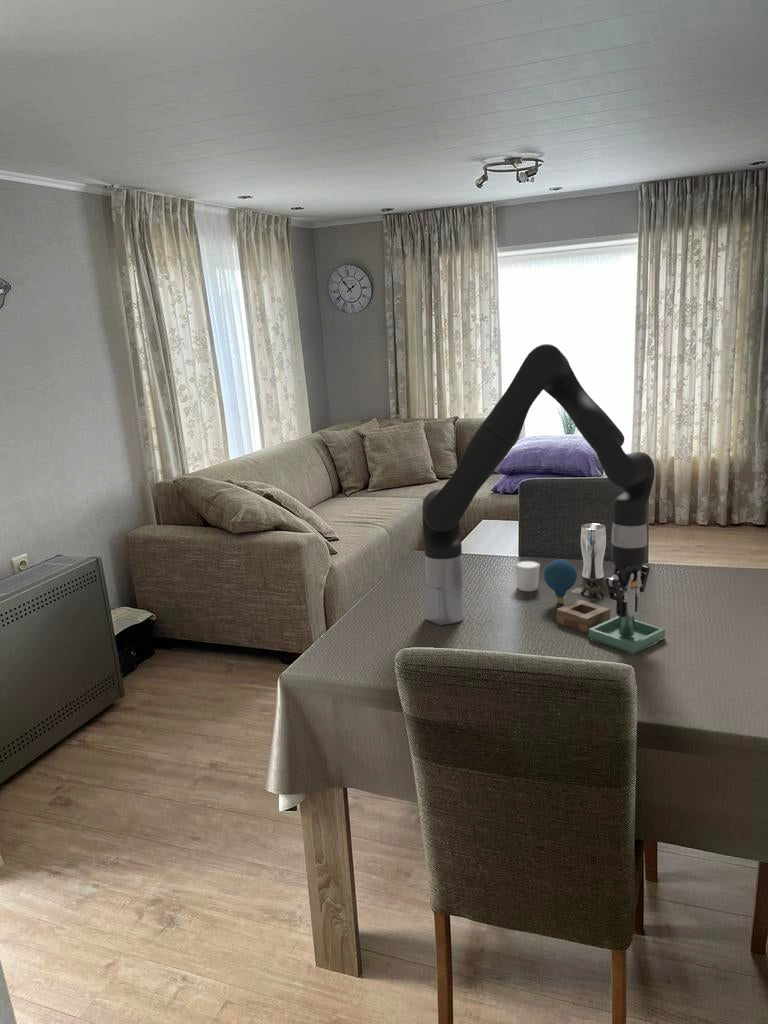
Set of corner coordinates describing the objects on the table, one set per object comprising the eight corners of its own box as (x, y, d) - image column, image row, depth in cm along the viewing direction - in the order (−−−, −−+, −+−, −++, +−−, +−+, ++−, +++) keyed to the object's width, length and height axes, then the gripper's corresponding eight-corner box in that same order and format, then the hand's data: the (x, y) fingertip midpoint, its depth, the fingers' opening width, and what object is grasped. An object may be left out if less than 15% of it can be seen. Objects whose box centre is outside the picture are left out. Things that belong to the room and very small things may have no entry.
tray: (633, 655, 159) (634, 644, 159) (588, 638, 169) (588, 629, 168) (664, 639, 166) (665, 629, 166) (619, 624, 176) (620, 614, 175)
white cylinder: (542, 591, 200) (542, 567, 199) (517, 592, 200) (517, 568, 199) (537, 583, 207) (537, 559, 205) (513, 584, 207) (513, 560, 205)
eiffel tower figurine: (626, 594, 196) (627, 547, 193) (618, 607, 188) (619, 558, 184) (570, 587, 203) (571, 542, 200) (561, 600, 195) (561, 552, 191)
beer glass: (579, 579, 208) (580, 529, 204) (580, 571, 214) (581, 522, 210) (605, 580, 206) (606, 529, 202) (605, 572, 212) (606, 523, 208)
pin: (628, 639, 164) (630, 585, 161) (612, 633, 168) (613, 580, 164) (640, 633, 167) (642, 580, 164) (623, 628, 170) (625, 575, 167)
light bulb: (553, 611, 186) (553, 566, 183) (538, 600, 194) (538, 557, 191) (582, 606, 188) (583, 562, 185) (566, 595, 196) (566, 553, 193)
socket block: (586, 632, 172) (586, 619, 171) (556, 622, 179) (556, 609, 178) (609, 622, 177) (610, 608, 176) (579, 612, 184) (579, 599, 183)
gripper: (624, 552, 155) (622, 627, 159) (662, 538, 163) (659, 609, 167) (595, 545, 161) (594, 617, 165) (633, 532, 169) (630, 601, 173)
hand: (626, 613), depth 166 cm, fingers closed on pin, 3 cm apart
